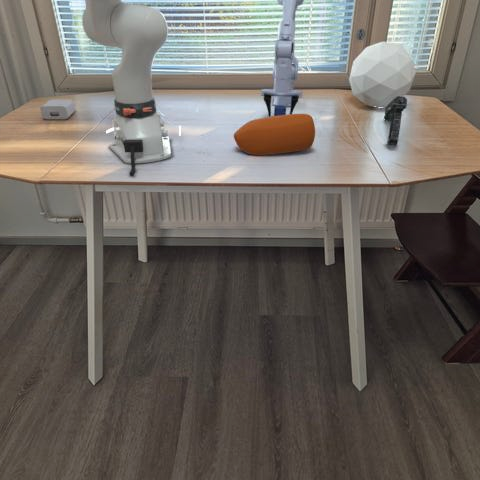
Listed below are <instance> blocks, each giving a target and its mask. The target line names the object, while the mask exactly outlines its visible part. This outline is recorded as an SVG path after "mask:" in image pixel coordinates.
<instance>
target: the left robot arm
mask: <svg viewBox="0 0 480 480" xmlns="http://www.w3.org/2000/svg"><path fill="white" fill-rule="evenodd" d="M84 3H85V9H84V11H83V13H82V19H81V21H82V28H83V31H84V32H85V36H87V38H88V39H89V40H91V41H92V42H94V43H97V44H98V45H102V46H104V47H107V48H108V47H109V48H117V49H121V61H120V62H119V64H117V65H116V66H115V67H113V70H112V71H111V80H112V87H113V93H114V100H113V102H114V105H113V106H114V110H115V116H114V118H113V119H112V121H111V122H112V127H111V128H109V129H107V130H106V131H105V133H106V134H108V133H111V132H113V136H114V141H112V142H111V143H109V148H110V149H111V150H112V151H113V152H114V153H115V155H116V156H118V158H120V159H121V160H122V161H123V163H125V164H130V166H131V169H130V172H129V175H130V176H131V177H132V176H134V174H135V171H136V164H147V163H148V164H149V163H154V162H159V161H164V160H167V159H169V158H171V157H172V149H171V148H172V147H171V141H170V137H169V136H168V130H167V128H163V129H162V127H165V124H164V123H165V122H164V121H162V120H161V114H160V113H158V112H157V105H156V101H155V96H154V93H153V82H152V69H153V64H154V60H155V57H156V56H157V53H158V52H159V51H160V50H161V49H162V48H163V47H164V45H165V44H166V42H167V39H168V36H169V26H168V22H167V20H166V19H167V18H166V17H165V15H164V14H163V13H162V12H161V11H160V10H158V9H155V8H154V7H151V6H147V5H144V4H134V3H133V4H132V3H124V2H123V1H122V0H84ZM178 129H179V131H178V136H181V130H182V126H181V125H179V128H178Z"/></svg>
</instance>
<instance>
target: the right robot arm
mask: <svg viewBox="0 0 480 480" xmlns="http://www.w3.org/2000/svg"><path fill="white" fill-rule="evenodd" d="M276 1H277V4H278V5H280V6H282V19H281V20H279V22H278V27H277V28H278V29H277V37H276V38H277V39H276V42H274V60H273V67H272V79H273V80H274V81H273V88H261V91H260V97H263V101H264V104H265V105H266V109H267V115H268V116H267V117H272V116H271V115H272V105H273V106H276V105H283V106H286V107H290V109H289V114H293V113H294V109H295V107H296V106H297V104H298V102H299V99H302V97H303V90H295V89H294V83H295V81H297V80H298V74H299V59H298V58H297V57H296V56H295V46H296V42H295V35H296V13H297V9H298V7H299V6H301V5H303V4H304V1H305V0H276ZM272 97H274V98H273V103H272Z"/></svg>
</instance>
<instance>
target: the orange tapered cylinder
mask: <svg viewBox="0 0 480 480" xmlns="http://www.w3.org/2000/svg"><path fill="white" fill-rule="evenodd" d="M315 138H316V125H315V121H314V118H313V116H311V114H308V113H292V114H290V113H288V114H286V115H279V116H274V115H273V116H270V117H268V116H266V117H260V118H255V119H252V120H250V121H247V122H246V123H245V124H243V125H241V127H239V128H238V129H237V130H236V131H235V132H234V133H233V139H234V142H235V143H236V145H237V146H238V148H239V149H240V150H241V151H243V152H245V153H247V154H249V155H253V156H264V155H266V156H267V155H276V154H277V155H278V154H285V153H293V152H299V151H303V150H304V151H305V150H308V149H310V148H312V147H313V145H314V141H315Z"/></svg>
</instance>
